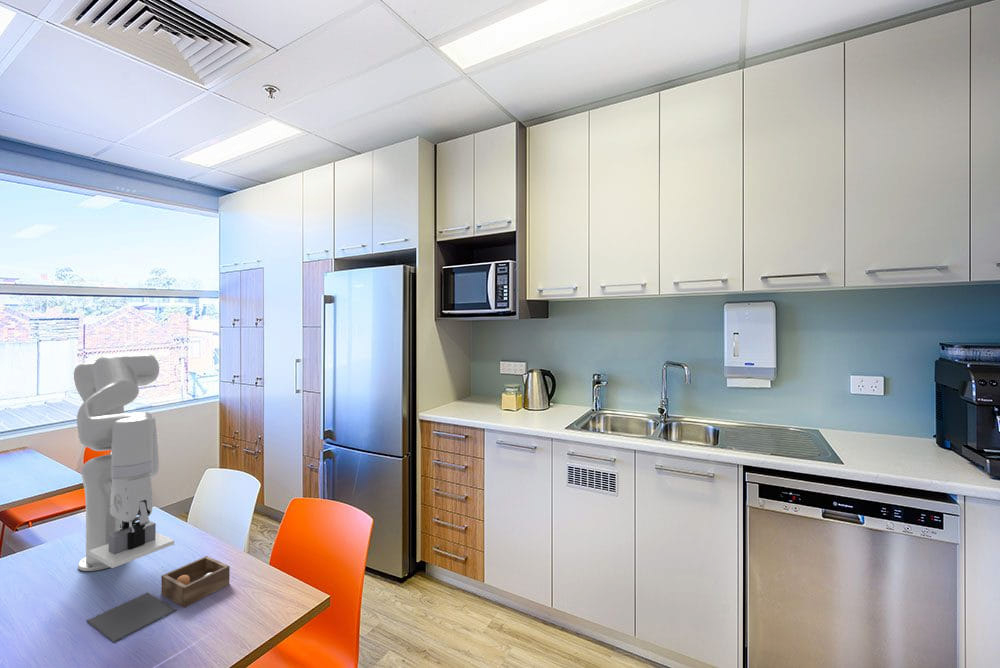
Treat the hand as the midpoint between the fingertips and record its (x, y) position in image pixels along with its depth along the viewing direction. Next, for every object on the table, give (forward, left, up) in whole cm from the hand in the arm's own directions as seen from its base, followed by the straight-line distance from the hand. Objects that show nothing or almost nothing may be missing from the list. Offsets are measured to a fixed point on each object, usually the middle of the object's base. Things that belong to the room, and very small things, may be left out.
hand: (132, 544), depth 101 cm
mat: (0, 0, -18) cm, 18 cm away
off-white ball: (+4, +15, -15) cm, 22 cm away
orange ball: (-1, +11, -15) cm, 19 cm away
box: (+2, +13, -18) cm, 22 cm away
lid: (0, 0, -1) cm, 1 cm away
